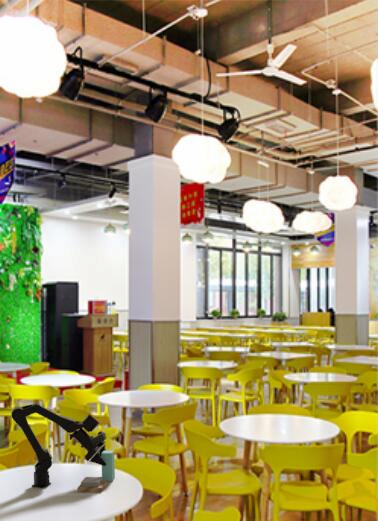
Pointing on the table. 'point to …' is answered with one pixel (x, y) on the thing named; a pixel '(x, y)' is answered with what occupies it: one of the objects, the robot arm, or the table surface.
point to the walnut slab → (93, 488)
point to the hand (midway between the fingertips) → (108, 462)
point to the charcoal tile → (91, 481)
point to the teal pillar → (108, 465)
